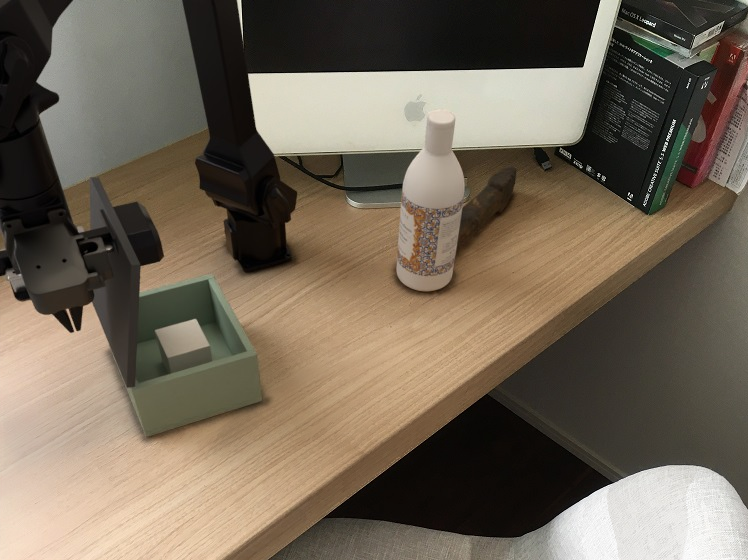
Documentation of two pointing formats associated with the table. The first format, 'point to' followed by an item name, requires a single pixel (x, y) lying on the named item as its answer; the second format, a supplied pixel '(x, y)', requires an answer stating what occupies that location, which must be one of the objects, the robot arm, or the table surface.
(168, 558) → the table surface
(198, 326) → the white block
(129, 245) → the box lid
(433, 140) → the bath foam
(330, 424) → the table surface
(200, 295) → the open box
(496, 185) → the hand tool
